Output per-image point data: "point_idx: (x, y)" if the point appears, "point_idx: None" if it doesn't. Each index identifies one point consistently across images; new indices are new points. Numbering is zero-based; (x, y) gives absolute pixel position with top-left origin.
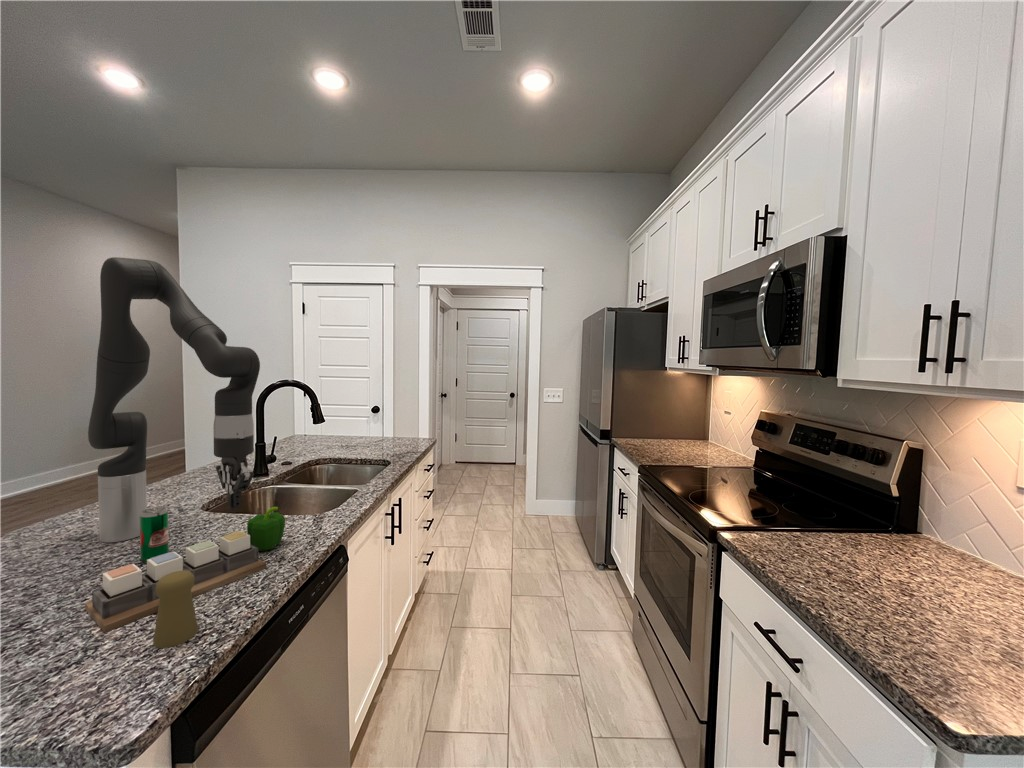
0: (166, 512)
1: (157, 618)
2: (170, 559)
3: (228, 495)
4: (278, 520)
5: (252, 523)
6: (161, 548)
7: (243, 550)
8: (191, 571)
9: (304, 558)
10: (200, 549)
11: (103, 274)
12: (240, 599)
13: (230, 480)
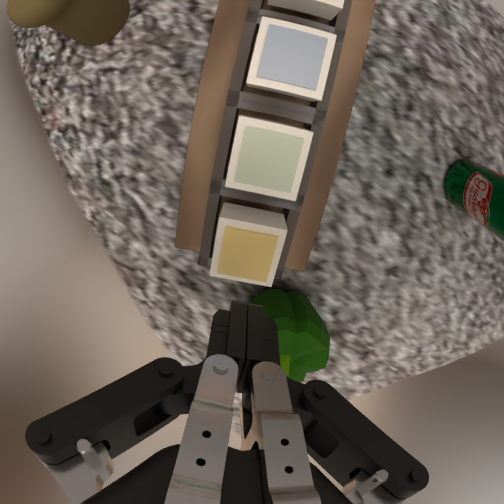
0: None
1: None
2: (262, 55)
3: (253, 352)
4: None
5: (297, 332)
6: (459, 188)
7: None
8: (228, 99)
9: (148, 299)
10: (243, 138)
11: None
12: (103, 133)
13: (187, 429)
